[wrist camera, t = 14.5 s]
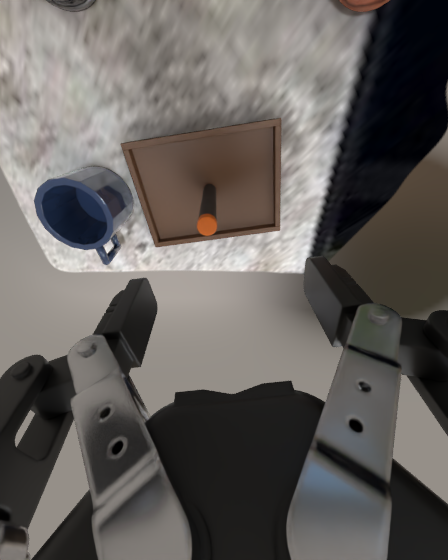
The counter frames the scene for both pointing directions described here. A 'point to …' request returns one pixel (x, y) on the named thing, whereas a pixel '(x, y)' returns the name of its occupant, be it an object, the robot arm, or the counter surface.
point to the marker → (208, 211)
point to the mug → (85, 209)
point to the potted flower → (363, 4)
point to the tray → (209, 180)
